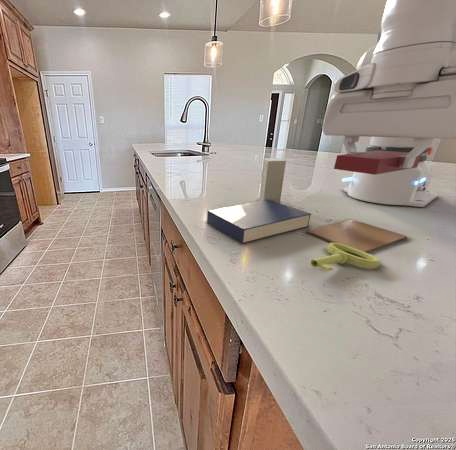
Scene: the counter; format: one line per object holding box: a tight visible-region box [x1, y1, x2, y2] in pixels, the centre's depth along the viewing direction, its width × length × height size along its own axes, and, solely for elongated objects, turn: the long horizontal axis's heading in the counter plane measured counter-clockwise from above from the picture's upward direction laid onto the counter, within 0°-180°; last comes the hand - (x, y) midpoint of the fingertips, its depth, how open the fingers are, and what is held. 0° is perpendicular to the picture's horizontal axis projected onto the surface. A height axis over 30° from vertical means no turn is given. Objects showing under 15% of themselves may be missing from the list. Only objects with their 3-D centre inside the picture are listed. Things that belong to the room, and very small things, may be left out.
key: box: [309, 242, 381, 272], centre depth 38 cm, size 7×12×2 cm, turn 132°
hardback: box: [206, 199, 312, 244], centre depth 54 cm, size 18×12×3 cm
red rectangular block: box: [333, 150, 422, 175], centre depth 43 cm, size 12×6×2 cm, turn 113°
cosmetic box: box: [258, 157, 287, 204], centre depth 66 cm, size 6×4×12 cm
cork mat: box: [306, 218, 408, 253], centre depth 48 cm, size 14×10×1 cm
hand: (375, 164), depth 43 cm, fingers closed on red rectangular block, 6 cm apart
